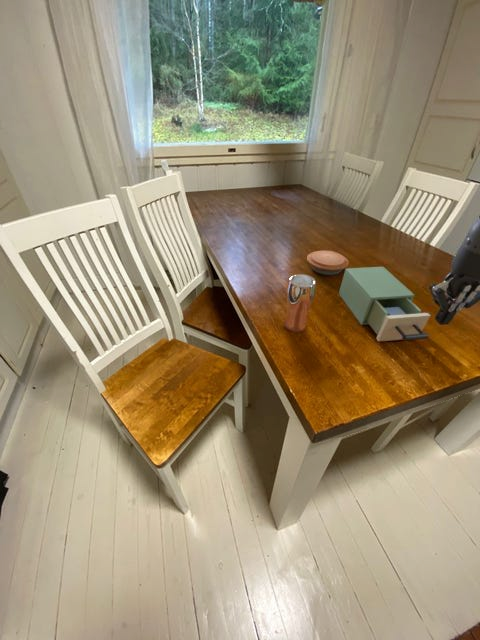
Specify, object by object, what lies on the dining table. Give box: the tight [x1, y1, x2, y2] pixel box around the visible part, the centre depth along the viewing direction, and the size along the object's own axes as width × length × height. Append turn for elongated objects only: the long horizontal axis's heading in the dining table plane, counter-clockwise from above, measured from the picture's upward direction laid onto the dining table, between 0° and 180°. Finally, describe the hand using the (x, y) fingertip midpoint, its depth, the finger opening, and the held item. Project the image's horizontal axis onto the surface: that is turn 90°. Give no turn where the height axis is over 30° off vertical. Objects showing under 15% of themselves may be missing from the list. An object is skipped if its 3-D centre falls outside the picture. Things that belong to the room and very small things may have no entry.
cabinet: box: [338, 266, 415, 326], centre depth 83 cm, size 17×13×10 cm
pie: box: [306, 250, 349, 276], centre depth 105 cm, size 15×16×5 cm
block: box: [384, 307, 406, 316], centre depth 75 cm, size 5×5×5 cm
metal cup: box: [284, 273, 317, 333], centre depth 74 cm, size 7×7×15 cm
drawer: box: [366, 298, 431, 342], centre depth 75 cm, size 20×11×8 cm, turn 7°
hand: (441, 322), depth 59 cm, fingers closed
